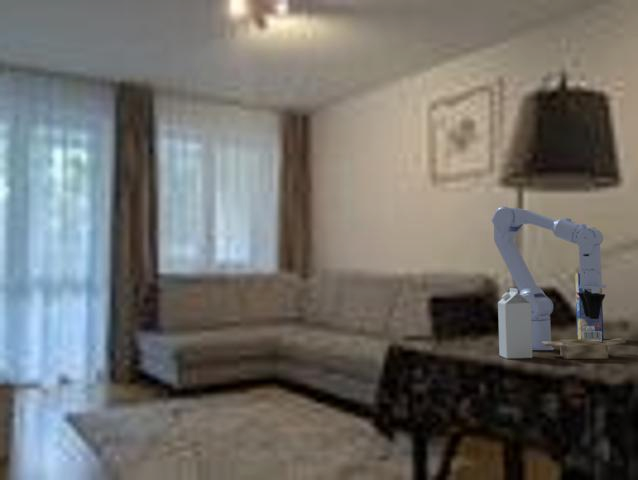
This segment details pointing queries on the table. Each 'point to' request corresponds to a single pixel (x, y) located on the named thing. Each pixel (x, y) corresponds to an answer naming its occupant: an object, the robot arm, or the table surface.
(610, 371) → the table surface
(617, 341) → the flap
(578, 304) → the beverage box
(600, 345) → the flap
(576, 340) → the carton
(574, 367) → the table surface
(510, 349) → the milk carton
